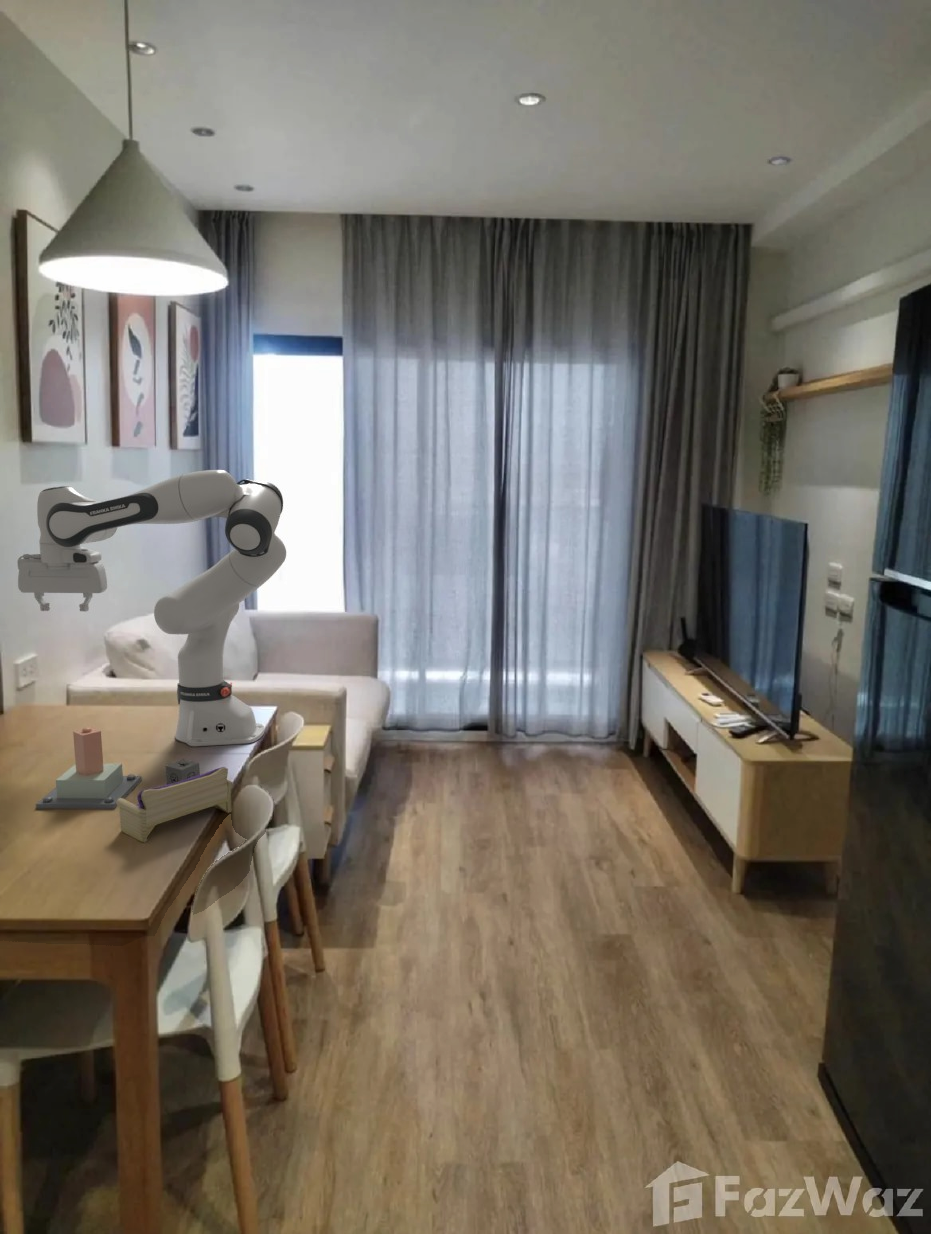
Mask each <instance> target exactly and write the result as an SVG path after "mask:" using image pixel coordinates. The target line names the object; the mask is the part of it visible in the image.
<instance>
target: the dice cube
mask: <svg viewBox="0 0 931 1234" xmlns="http://www.w3.org/2000/svg"><path fill="white" fill-rule="evenodd" d="M200 769H201V767H200V762H197V761H194V760H189V759H185V758H182V759H180V760H177V761H175V762H172V763H170V764H166V765H165V780H166V781H165V783H166V785H168V784H172V783H176V782H180V781H183V780H186V779H189V778H191V777H194V776H198V775H201V773H200V772H201V771H200Z"/></svg>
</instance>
